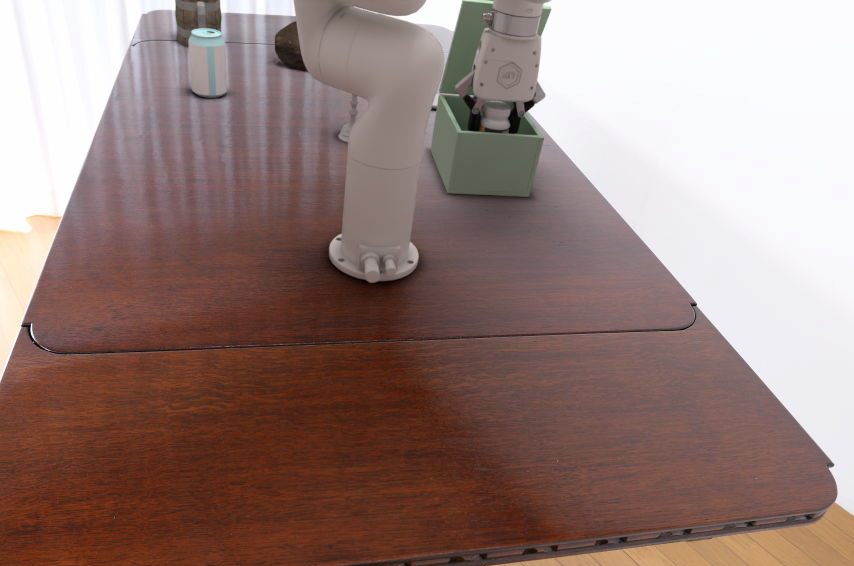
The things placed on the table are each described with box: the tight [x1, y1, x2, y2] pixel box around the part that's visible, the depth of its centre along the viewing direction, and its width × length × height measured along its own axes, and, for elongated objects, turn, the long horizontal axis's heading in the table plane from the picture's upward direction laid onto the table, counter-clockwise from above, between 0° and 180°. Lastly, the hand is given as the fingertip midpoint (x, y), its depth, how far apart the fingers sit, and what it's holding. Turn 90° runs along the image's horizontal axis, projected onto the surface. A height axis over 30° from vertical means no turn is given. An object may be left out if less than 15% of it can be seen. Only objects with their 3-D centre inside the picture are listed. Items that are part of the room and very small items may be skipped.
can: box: [188, 28, 228, 99], centre depth 137 cm, size 7×7×12 cm
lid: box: [438, 0, 552, 97], centre depth 117 cm, size 18×15×5 cm
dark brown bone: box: [274, 21, 308, 71], centre depth 167 cm, size 11×10×28 cm
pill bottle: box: [479, 100, 511, 134], centre depth 115 cm, size 6×6×10 cm
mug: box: [174, 0, 223, 48], centre depth 162 cm, size 16×11×12 cm
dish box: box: [429, 93, 545, 198], centre depth 120 cm, size 18×15×11 cm
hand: (491, 134), depth 115 cm, fingers closed on pill bottle, 5 cm apart
